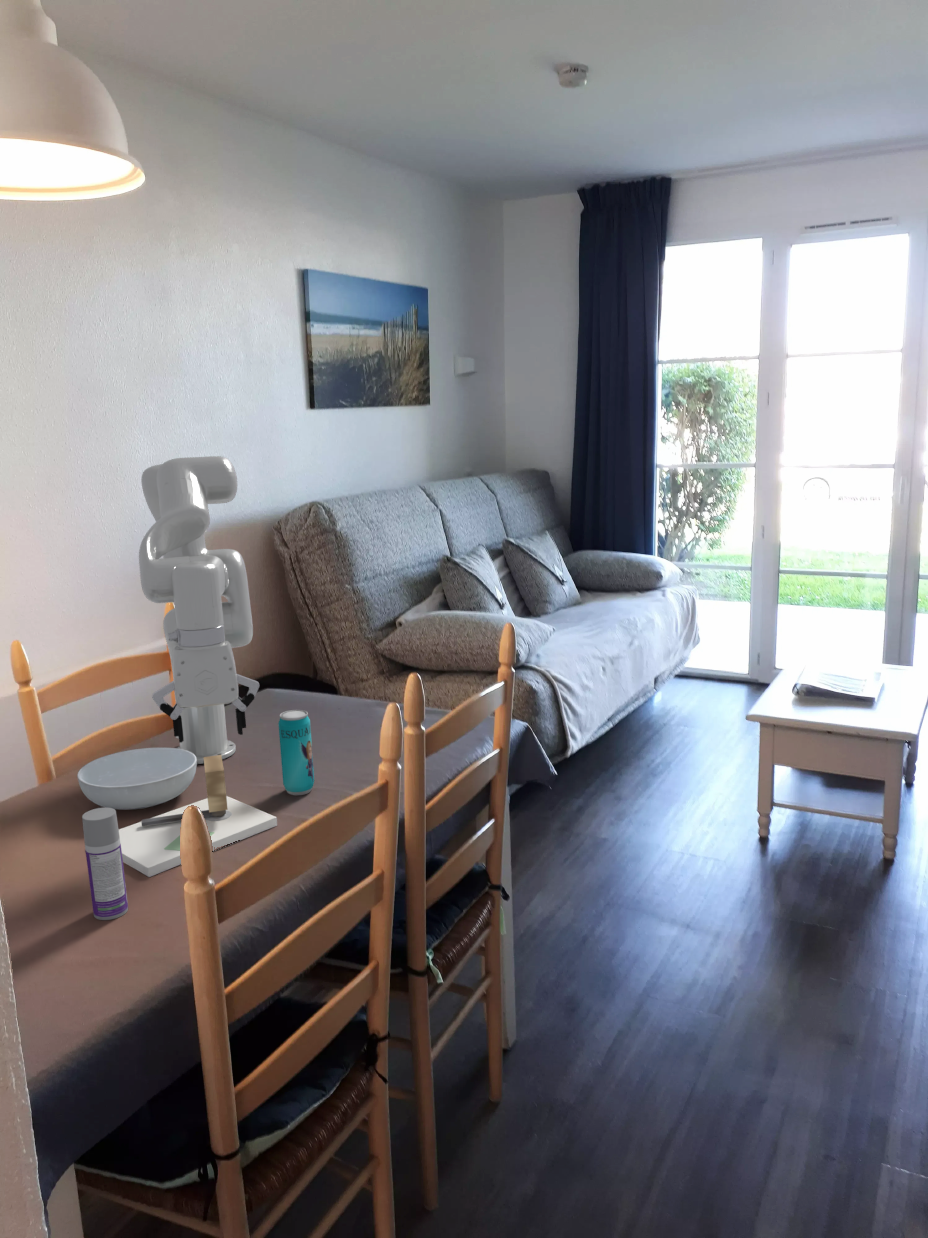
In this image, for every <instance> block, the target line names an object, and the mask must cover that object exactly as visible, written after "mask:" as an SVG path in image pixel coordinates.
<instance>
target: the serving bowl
mask: <svg viewBox="0 0 928 1238" xmlns="http://www.w3.org/2000/svg"><path fill="white" fill-rule="evenodd" d="M177 748H178V747H144V748H143V747H142V748H136V749H128V750H124V751H119V752H115V753H111V754H108V755H107V754H106V755H104V756H100V757H98V758H96V759H94V760H92V761H90V762H88V763H86V764H85V765H83V766H82V767H81V768H80V769H79V771H78V772H77V777H76V778H77V781H78V785H79V788H80V789H81V791H82V793H83V794H84V796H85V797H86V798H87V799H88V800H90V801H91V802H92V803H94V804H95V805H98V806H99V807H101V808H113V809H115V810H141V809H146V808H151V807H154V806H158V805H160V804H164V803H166V802H168V801H170V800H173V799H174V798H176V797H178V796H180V795H181V794H182V793H183V792H185V790H187V789H188V788H189V786H190V785H191V784H192V782H193V780H194V779H195V775H196V772H197V765H198V764H197V758H196V756H195V755H194V754H193V753H191V752H189V751H186V750H183V749H177Z"/></svg>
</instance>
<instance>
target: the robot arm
mask: <svg viewBox="0 0 928 1238" xmlns="http://www.w3.org/2000/svg"><path fill="white" fill-rule="evenodd" d="M140 480H141V488H142V493H143V497H144V499H145V502H146V504H147V507H148V509H149V511H150V513H151V515H152V517H153V519H154V521H155V523H153V524H152V526H151V527H150V528H149V529H148V530H147V532H146V533H145V534H144V536H143V538H142V540H141V542H140V546H139V550H138V564H139V565H138V566H139V574H140V575H139V577H140V584H141V589H142V592H143V595H144V596H145V598H146V599H147V600H148V601H150V602H151V603H156V604H167V603H173V604H174V605H173V606H174V608H172V609H171V610H169V611H168V612H167V613H166V614H165V615H164V617H163V621H162V627H163V628H162V629H163V634H164V637H165V641H166V644H167V645H166V646H167V648H168V649H167V650H168V654H169V658H170V663H171V670H172V678H173V679H172V681H170V682H169V683H167V684H165V685H163V686H162V687H160V688H159V689H158V690H156V691H154V692H153V693H152V695H151V697H152V700H153V701H154V702H155V704H156V706H158V707H159V710H160V711H162V712H163V713H164V714H166V716H168V717H170V719H171V720H172V726H173V736H174V738H176V739H178V740H179V742H178V743H179V746H177V747H176V748H177V749H183V750H186V751H189V752H191V753H193V754H194V755H195V756H196V758H197V765H199V764H203V765H204V757H209V756H216V755H221V756H222V760H224V759H227V758H230V757H231V756H232V755H234V753H235V752H236V750H237V749H236V743H234V742H233V741H231V740H230V739H229V740H228V735H227V734H228V733H227V724H226V713H225V711H226V710H225V705H228V704H232V705H233V706H234V707H236V709H235V720H236V731H237V733H238V735H240V736H243V733H244V732H243V729H246V728H247V722H246V721H247V720H246V710H247V709H248V707H249V706H250V705H251V703H252V702H253V701H254V700H255V698H256V695H257V693H258V691H259V688H260V683H259V681H257V680H255V679H252V678H249V677H246V676H244V675H241V674H239V673H237V667H236V661H235V655H234V652H233V649H235V648H242V647H245V646H247V645H249V644H250V643H251V642H252V639H253V635H254V626H253V625H254V624H253V617H252V608H251V600H250V599H251V598H250V589H249V582H248V580H249V579H248V573H247V570H246V569H247V568H246V563H245V560H244V558H243V555H242V554H241V553H240V552H239V551H238V550H235V549H232V548H219V549H208V548H207V545H206V537H205V533H206V532H207V531H208V529H209V527H210V523H211V517H210V510H209V505H219V504H228V503H230V502H232V501H233V500H234V499H235V498H236V496H237V495H236V494H237V493H238V492H237V491H238V477H237V472H236V469H235V467H234V465H233V463H232V462H231V460H230V459H229V458H227V457H225V456H221V455H220V456H219V455H218V456H217V455H213V456H211V455H210V456H192V457H190V456H189V457H176V458H171V459H169V460H167V461H164V462H163V463H160V464H156V465H155V464H154V465H151V466H149V467H147V468H146V469H144V470H143V472H142V474H141V479H140ZM161 557H163V558H161ZM222 597H224V598H225V599H226V600H227V601H223V600H222ZM239 684H240V685H241V686H244V687H248V690H247V693H246V694H245V695H244V696H243V697H242V698H241V697H240V696H239ZM172 692H174V700H175V704H173V706H171V705H170V704H169V703H167V701H166V700H165V699H164V697H165V696H167V695H169V694H170V693H172Z"/></svg>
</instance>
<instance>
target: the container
mask: <svg viewBox="0 0 928 1238" xmlns="http://www.w3.org/2000/svg"><path fill="white" fill-rule="evenodd" d="M81 819H82V829H83V839H84V851H85V858H86V865H87V874H88V881H89V882H88V883H89V891H90V897H91V905H92V912H93V913H92V914H93V917H94V918H95V919H96V920H99V921H111V920H114V919H118V918H120V917H122V916H124V915H125V914H126V913H127V912H128V911H129V903H128V894H127V893H128V892H127V886H126V885H127V884H126V876H125V869H124V862H123V859H122V850H121V843H120V836H119V829H120V828H119V824H118V816H117V809H113V808H106V807H97V808H94V809H91V810H88V811H86V812H84V813H83V814H82V816H81Z"/></svg>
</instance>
